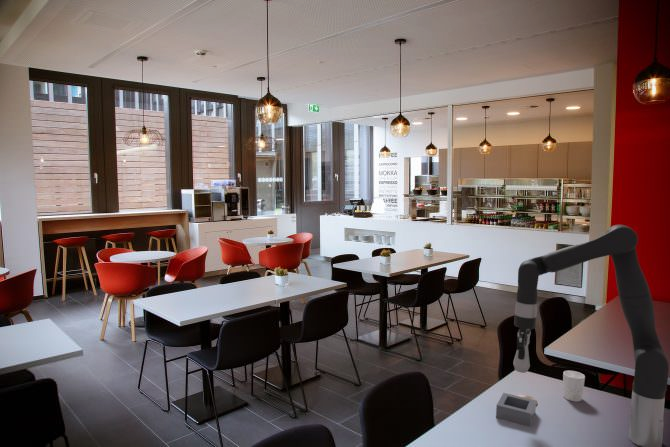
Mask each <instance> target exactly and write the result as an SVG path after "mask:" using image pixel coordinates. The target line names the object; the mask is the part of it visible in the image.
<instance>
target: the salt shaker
mask: <svg viewBox="0 0 670 447" xmlns="http://www.w3.org/2000/svg"><path fill="white" fill-rule="evenodd" d="M530 341H531V340H529V338H528V344H529V345H530ZM525 343H526V341H525ZM528 344H527V345H526V351H525V357H524V359H523V360H521V359H519V358H518V351H519V350H517V349H516V352H515V355H514V359H513V362H512V363H513V367H514V370H515V371H516V372H519V373H523V374H525V373H527V372H528V370H529V369H530V367H531V364H530V356H529V355H530V354H529V345H528ZM520 347H522V346H520ZM522 348H523V347H522Z"/></svg>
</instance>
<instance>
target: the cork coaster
mask: <svg viewBox="0 0 670 447" xmlns="http://www.w3.org/2000/svg"><path fill="white" fill-rule="evenodd" d="M515 396H519V397H523V398H528V399H532V400H536V406H537V405H538V400H537V399H536V398H534V397H533V396H529V395H525V394H516V395H515Z"/></svg>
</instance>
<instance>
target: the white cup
mask: <svg viewBox="0 0 670 447" xmlns="http://www.w3.org/2000/svg"><path fill="white" fill-rule="evenodd" d="M562 373H563V374H562V377H563V378H562V386H563V387H562V389H563V390H562V391H563V398H564V399H566V400H568V401H571V402H576V403H577V402H581V401H582V400H583V395H584V394H583V393H584V387H585V380H586V376H585V374H583V373H581V372H579V371H575V370H564V371H563V372H562Z"/></svg>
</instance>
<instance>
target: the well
mask: <svg viewBox="0 0 670 447" xmlns="http://www.w3.org/2000/svg"><path fill="white" fill-rule="evenodd" d="M536 400H537V399H536ZM536 400H532V399H528V398H523V397H519V396H516V395H514V394H512V393H511V394H510V393H506V392H503V393H502V395H501V396H500V398H499V400H498V402H497V404H496V409H495V418H496V419H500V420H503V421H505V422H506V421H507V422H511V423H515V424H519V425H522V426H526V427H531V425H532V423H533V421H534V417H535V415H536V410H537V409H536V406H537V405H536Z"/></svg>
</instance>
